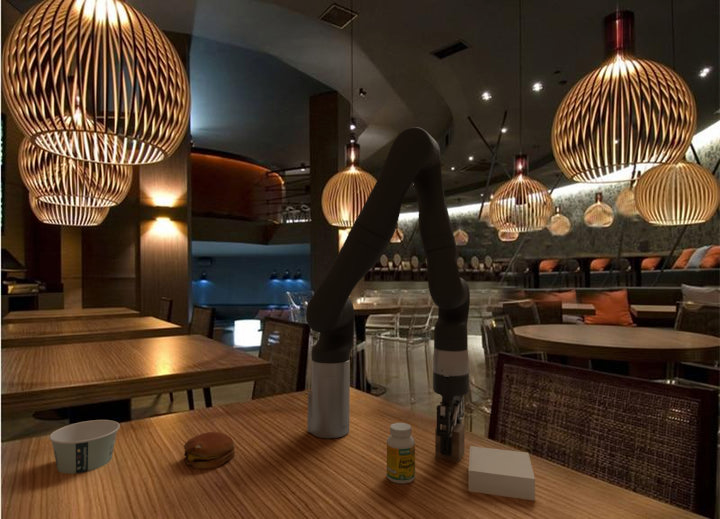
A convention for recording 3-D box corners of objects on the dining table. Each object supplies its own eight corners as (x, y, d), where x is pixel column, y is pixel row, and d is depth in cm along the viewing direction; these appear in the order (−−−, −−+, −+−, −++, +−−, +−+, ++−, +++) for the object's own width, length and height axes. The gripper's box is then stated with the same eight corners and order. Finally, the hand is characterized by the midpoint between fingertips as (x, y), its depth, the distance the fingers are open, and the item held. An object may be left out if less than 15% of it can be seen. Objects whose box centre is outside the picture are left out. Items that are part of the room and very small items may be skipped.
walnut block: (435, 457, 90) (435, 428, 91) (441, 448, 95) (441, 420, 95) (459, 462, 88) (459, 432, 88) (464, 452, 93) (464, 424, 93)
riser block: (468, 493, 77) (468, 470, 77) (470, 466, 87) (470, 446, 88) (534, 502, 74) (534, 479, 74) (528, 473, 84) (528, 452, 85)
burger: (237, 449, 94) (238, 427, 94) (229, 469, 85) (229, 445, 85) (190, 451, 93) (191, 429, 93) (176, 471, 84) (177, 447, 84)
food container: (124, 465, 86) (124, 432, 86) (49, 483, 78) (50, 447, 78) (114, 445, 95) (115, 415, 95) (47, 460, 88) (47, 427, 88)
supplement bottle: (402, 468, 85) (403, 419, 85) (421, 479, 81) (421, 427, 81) (380, 475, 82) (381, 424, 82) (398, 487, 78) (398, 433, 78)
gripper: (441, 361, 100) (442, 432, 100) (423, 375, 87) (424, 457, 87) (474, 364, 97) (475, 438, 96) (461, 379, 84) (461, 464, 84)
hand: (451, 446), depth 92 cm, fingers open, 8 cm apart
